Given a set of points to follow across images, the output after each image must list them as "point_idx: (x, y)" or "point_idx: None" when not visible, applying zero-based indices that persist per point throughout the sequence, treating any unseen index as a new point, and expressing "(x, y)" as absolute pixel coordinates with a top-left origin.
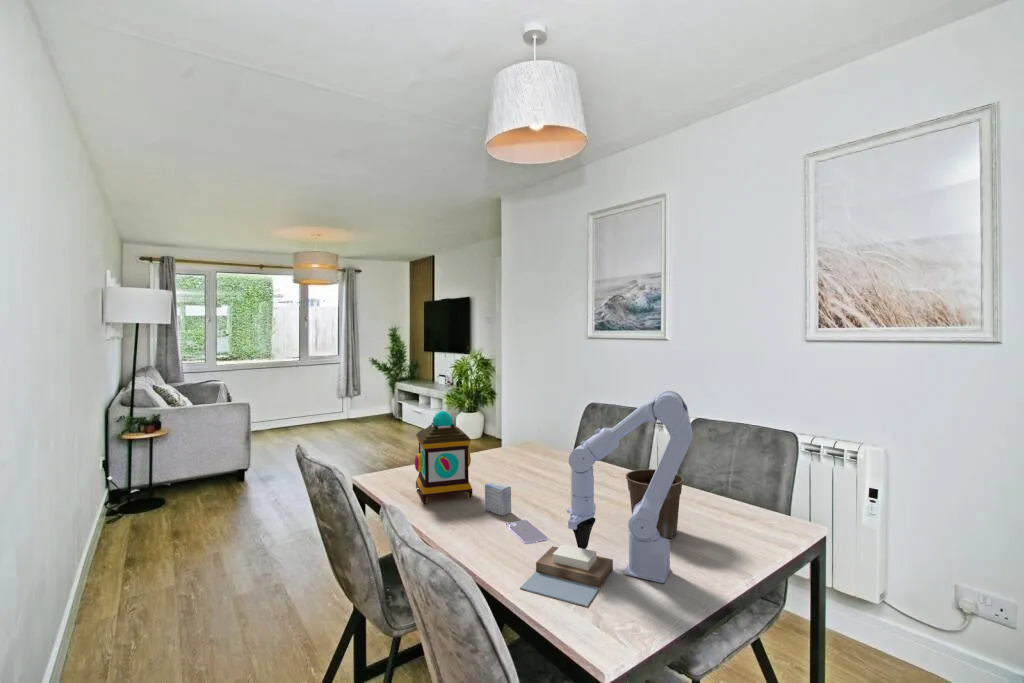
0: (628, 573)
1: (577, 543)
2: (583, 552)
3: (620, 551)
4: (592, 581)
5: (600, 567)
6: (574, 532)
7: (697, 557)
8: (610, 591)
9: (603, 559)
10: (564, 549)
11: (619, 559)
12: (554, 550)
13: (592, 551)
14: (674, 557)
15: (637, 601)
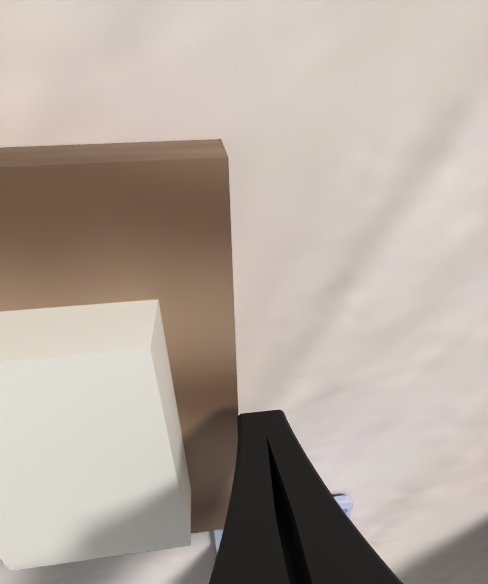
0: (215, 530)
1: (238, 445)
2: (121, 512)
3: (435, 436)
4: None
5: None
6: (214, 573)
7: (441, 572)
8: None
9: (215, 506)
10: (55, 411)
11: (349, 458)
12: (142, 225)
13: (177, 534)
14: (425, 546)
15: (58, 578)
